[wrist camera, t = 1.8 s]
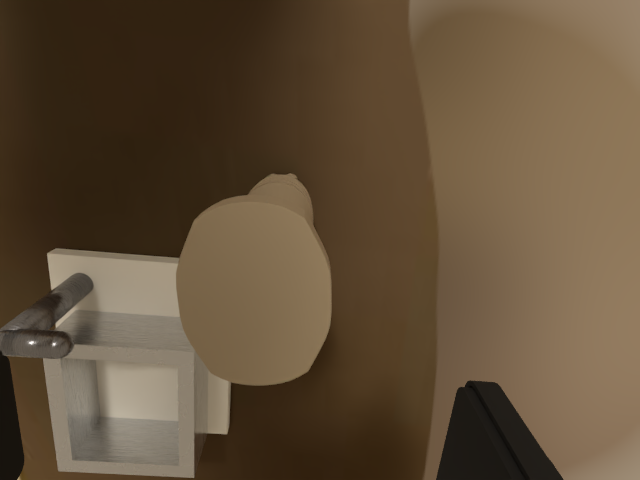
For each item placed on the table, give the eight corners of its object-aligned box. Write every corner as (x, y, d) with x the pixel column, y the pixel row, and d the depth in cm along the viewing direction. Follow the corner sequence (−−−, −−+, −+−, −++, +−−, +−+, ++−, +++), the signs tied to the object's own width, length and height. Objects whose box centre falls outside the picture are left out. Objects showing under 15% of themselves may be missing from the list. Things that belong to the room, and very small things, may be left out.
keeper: (55, 248, 28) (-49, 310, 20) (234, 262, 29) (205, 328, 21) (74, 415, 33) (-5, 523, 24) (229, 424, 33) (203, 532, 25)
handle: (319, 145, 26) (331, 200, 12) (320, 241, 28) (331, 383, 14) (242, 146, 26) (164, 203, 12) (249, 242, 28) (189, 387, 14)
